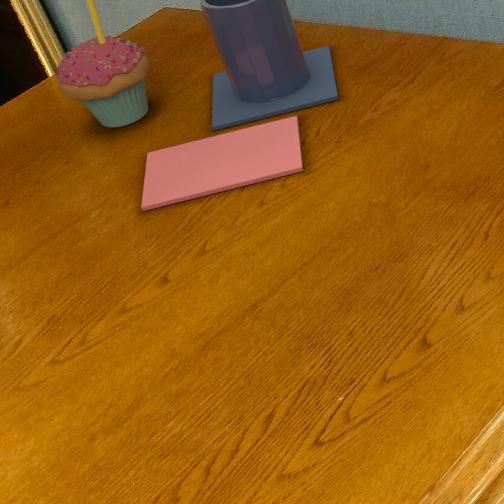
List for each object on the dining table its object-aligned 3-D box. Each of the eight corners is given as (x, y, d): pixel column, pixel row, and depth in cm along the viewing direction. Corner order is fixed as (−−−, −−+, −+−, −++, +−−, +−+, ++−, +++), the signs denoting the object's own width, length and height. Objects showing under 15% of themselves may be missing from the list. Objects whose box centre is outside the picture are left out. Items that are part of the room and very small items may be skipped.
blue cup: (237, 114, 95) (198, 15, 88) (236, 81, 99) (200, -15, 93) (313, 95, 95) (280, -5, 88) (309, 63, 100) (278, -34, 93)
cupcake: (164, 87, 101) (108, -41, 92) (170, 121, 96) (111, -12, 87) (80, 111, 100) (16, -16, 91) (82, 148, 95) (13, 16, 86)
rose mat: (143, 211, 85) (141, 207, 85) (149, 156, 91) (147, 152, 91) (303, 171, 85) (302, 166, 85) (298, 119, 92) (296, 115, 92)
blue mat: (213, 131, 93) (211, 126, 93) (214, 77, 101) (213, 73, 101) (339, 99, 93) (337, 95, 93) (330, 49, 101) (329, 45, 101)
